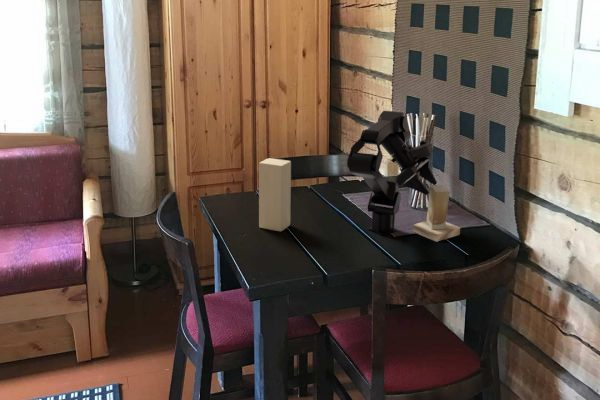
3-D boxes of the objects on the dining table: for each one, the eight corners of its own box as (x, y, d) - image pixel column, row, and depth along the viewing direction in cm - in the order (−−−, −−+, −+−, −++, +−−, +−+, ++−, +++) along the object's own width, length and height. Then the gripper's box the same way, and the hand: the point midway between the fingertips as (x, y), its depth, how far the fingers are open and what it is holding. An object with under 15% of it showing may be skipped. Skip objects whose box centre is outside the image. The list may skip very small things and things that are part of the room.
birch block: (436, 243, 204) (437, 234, 203) (412, 233, 212) (413, 224, 211) (459, 236, 210) (460, 227, 209) (435, 227, 217) (436, 218, 216)
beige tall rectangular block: (292, 224, 217) (292, 160, 210) (281, 231, 211) (281, 165, 204) (269, 220, 220) (269, 157, 214) (258, 227, 214) (257, 162, 207)
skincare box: (425, 221, 212) (429, 184, 208) (439, 221, 213) (443, 184, 209) (431, 229, 206) (435, 191, 202) (445, 229, 207) (450, 191, 203)
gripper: (408, 142, 196) (444, 183, 196) (425, 125, 212) (459, 164, 211) (381, 164, 202) (415, 205, 202) (400, 147, 218) (432, 184, 217)
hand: (431, 188), depth 208 cm, fingers open, 9 cm apart
